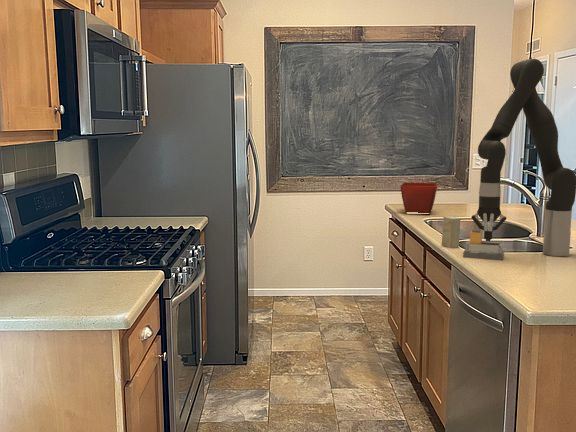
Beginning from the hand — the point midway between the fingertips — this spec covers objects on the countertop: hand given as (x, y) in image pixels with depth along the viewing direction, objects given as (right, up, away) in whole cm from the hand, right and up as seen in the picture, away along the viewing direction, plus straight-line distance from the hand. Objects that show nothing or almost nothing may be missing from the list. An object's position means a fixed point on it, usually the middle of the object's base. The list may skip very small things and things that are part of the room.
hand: (487, 240), depth 226 cm
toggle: (-4, -4, +2) cm, 6 cm away
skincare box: (-9, -3, +21) cm, 23 cm away
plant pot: (-1, +10, +116) cm, 117 cm away
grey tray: (-1, -6, +2) cm, 6 cm away
